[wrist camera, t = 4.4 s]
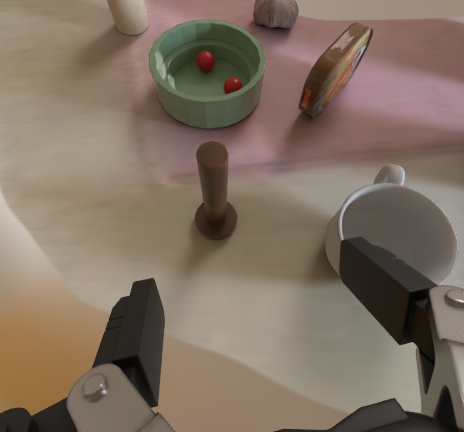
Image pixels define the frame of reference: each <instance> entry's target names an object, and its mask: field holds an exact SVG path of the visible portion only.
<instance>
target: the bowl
mask: <svg viewBox="0 0 464 432" xmlns="http://www.w3.org/2000/svg"><path fill="white" fill-rule="evenodd" d="M202 51H208V52H210V53H211V54H212V55H213V56H214V59H215V65H214V68H213V69H212V70H211V71H209V72H203V71H201V70H200V69H199V68H198V66H197V63H196V60H197V56H198V54H199V53H200V52H202ZM265 63H266V58H265V54H264V50H263V47H262V46H261V44H260V43H259V42H258V40H257V39H256V38H255V37H254V36H253V35H252V34H250V33H249V32H248V31H246V30H245V29H243V28H242V27H240V26H237V25H234V24H232V23H229V22H225V21H218V20H212V19H207V20H192V21H189V22H185V23H181V24H178V25H176V26H174V27H172V28H171V29H169V30H167V31H165V32H164V33H163V34H162V35H161V36H160V37H159V38H158V39H157V40H156V41H155V42H154V44H153V46H152V49H151V51H150V53H149V68H150V72H151V75H152V79H153V82H154V85H155V89H156V92H157V96H158V98H159V100H160V102H161V104H162V107H163V108H164V109H165V110H166V111H167V112H168V113H169V114H170V115H171V116H172V117H173V118H174V119H176V120H178V121H180V122H183V123H185V124H187V125H189V126H194V127H200V128H219V127H226V126H228V125H231V124H234V123H237V122H239V121H241V120H242V119H243V118H245V117H246V116H247V115H249V114H250V113H251V112H252V111H253V109H254V108H255V106H256V105H257V103H258V102H259V98H260V93H261V87H262V81H263V75H264V69H265ZM231 77H235V78H238V79H239V80H240V81H241V83H242V85H243V88H241V89H240V90H238V91H235V92H233V93H230V94H227V95H226V94H225V93H224V83H225V81H226V80H227V79H229V78H231Z"/></svg>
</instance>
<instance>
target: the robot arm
mask: <svg viewBox="0 0 464 432" xmlns="http://www.w3.org/2000/svg"><path fill="white" fill-rule="evenodd" d="M339 273H340V277H341V279H342V281H343V283H344V284H345V285H346V286H347V288H348V289H349V290H350V291H351V292H352V293H353V294H354V295H355V296H356V298H357V299H358V300H359V301H360V302H361V303H362V304H363V305H364V306H365V307H366V309H367V310H368V311H369V312H370V313H371V314H372V315H373V316H374V317H375V319H376V320H377V321H378V322H379V323H380V324H381V325H382V326H383V327H384V329H385V330H386V331H387V332H388V333H389V334H390V335H391V336H392V337H393V338H394V340H395V341H396V342H397V343H398V344H399V345H403V344H406V343H410V342H414V343H415V345H416V346H417V348H416V360H417V369H418V378H419V386H420V395H421V414H420V413H415V412H409V411H404V410H403V409H402V407H401V406H400V404H399V403H398V402H397V400H396V399H395V398H393V399H389V400H386V401H382V402H378V403H375V404H371V405H368V406H364V407H361V408H359V409H357V410H356V411H355V412H353V413H352V414H350V415H349V416H347V417H346V418H345V419H343V420H342V421H340V422H339V423H338V424H336V425H335V426H334V427H332V428H330V429H328V430H302V429H282V430H278V431H275V432H464V289H462V288H458V287H454V286H446V285H442V286H438V285H437V284H435V283H434V282H433V281H431V280H430V279H428V278H427V277H425V276H424V275H423V274H421V273H420V272H418V271H417V270H416V269H414V268H413V267H411V266H410V265H407V263H406V262H404V261H403V260H401V259H399V258H398V257H397V256H396V255H394V254H393V253H391V252H390V251H389V250H386V249H384V248H381V247H379V246H376V245H372V244H371V243H370V242H368V241H367V240H365V239H364V238H363V237H360V236H359V237H354V238H349V239H344V240H342V241H341V244H340V261H339ZM164 326H165V316H164V310H163V306H162V302H161V299H160V296H159V292H158V289H157V286H156V282H155V280H154V278H150V279H145V280H140V281H136V282H134V283H133V285H132V289H131V292H130V296H126V297H122V298H121V299H120V300H119V301H118V302H117V304H116V305H115V306H114V307H113V309H112V312H111V314H110V317H109V321H108V323H107V326H106V331H105V332H104V335H103V338H102V340H101V344H100V346H99V349H98V352H97V355H96V358H95V361H94V364H93V366H92V369H91V370H89V371H88V372H86V373H85V374H84V375H82V376H81V377H80V378H79V379H78V380H77V381H76V383H75V384H74V385H73V387H72V388H71V390H70V392H69V395H68V397H66V398H65V399H63V400H61V401H59V402H58V403H56V404H54V405H52V406H50V407H48V408H46V409H44V410H42V411H40V412H38V413H37V414H35V415H33V416H31V415H30V413H29V412H28V411H27V410H26V409H24V408H13V409H9V410H7V411H4V412H2V413H0V432H175V431H174V430H173V428H172V427H171V426H170V424H169V423H168V422H167V421H166V420H165V418H164V417H163V416H162V415H161V414H160V413H156V414H155V413H154V412H153V410H152V409H151V408H152V407H156V406H158V397H159V386H160V374H161V362H162V350H163V337H164Z"/></svg>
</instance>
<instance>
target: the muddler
mask: <svg viewBox="0 0 464 432" xmlns="http://www.w3.org/2000/svg"><path fill="white" fill-rule="evenodd" d="M196 157H197V164H198V170H199V176H200V183H201V189H202V195H203V202H204V203H202V204H201V205H200V206H199V208H198V209H197V212H196V215H195V221H196V225H197V228H198V230H199V232H200V233H201V234H202V235H203V236H205V237H206V238H209V239H213V240H220V239H223V238H226V237H228V236H229V235H230V234H231V233H232V232H233V231H234V229H235V227H236V222H237V214H236V211H235V209H234V207H233V206H232V205H231V204H230V203H229V202H227V180H228V151H227V149H226V147H225V146H224V145H223V144H221V143H219V142H214V141H211V142H206V143H204V144H202V145H201V146H200V147H199V148H198V150H197V153H196Z"/></svg>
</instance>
